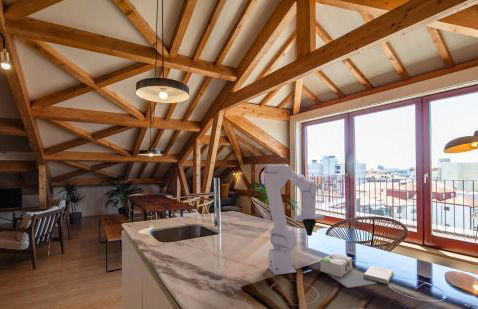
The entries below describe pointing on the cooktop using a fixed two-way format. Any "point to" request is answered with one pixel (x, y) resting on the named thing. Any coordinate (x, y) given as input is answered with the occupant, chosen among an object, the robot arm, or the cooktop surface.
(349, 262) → the ink box
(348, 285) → the mat
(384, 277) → the external hard drive
